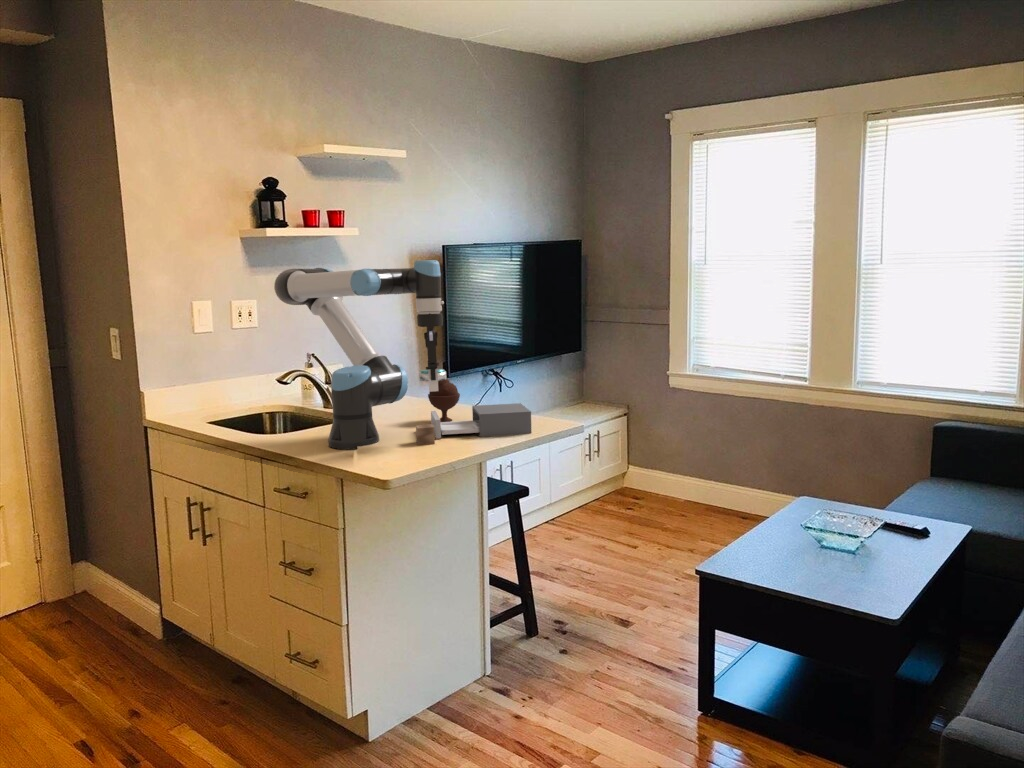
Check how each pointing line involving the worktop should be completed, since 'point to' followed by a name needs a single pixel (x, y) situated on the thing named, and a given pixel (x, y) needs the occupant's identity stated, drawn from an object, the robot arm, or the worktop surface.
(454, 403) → the ice cream bowl
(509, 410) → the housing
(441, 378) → the disc
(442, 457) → the worktop surface
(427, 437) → the block
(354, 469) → the worktop surface
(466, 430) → the tray
